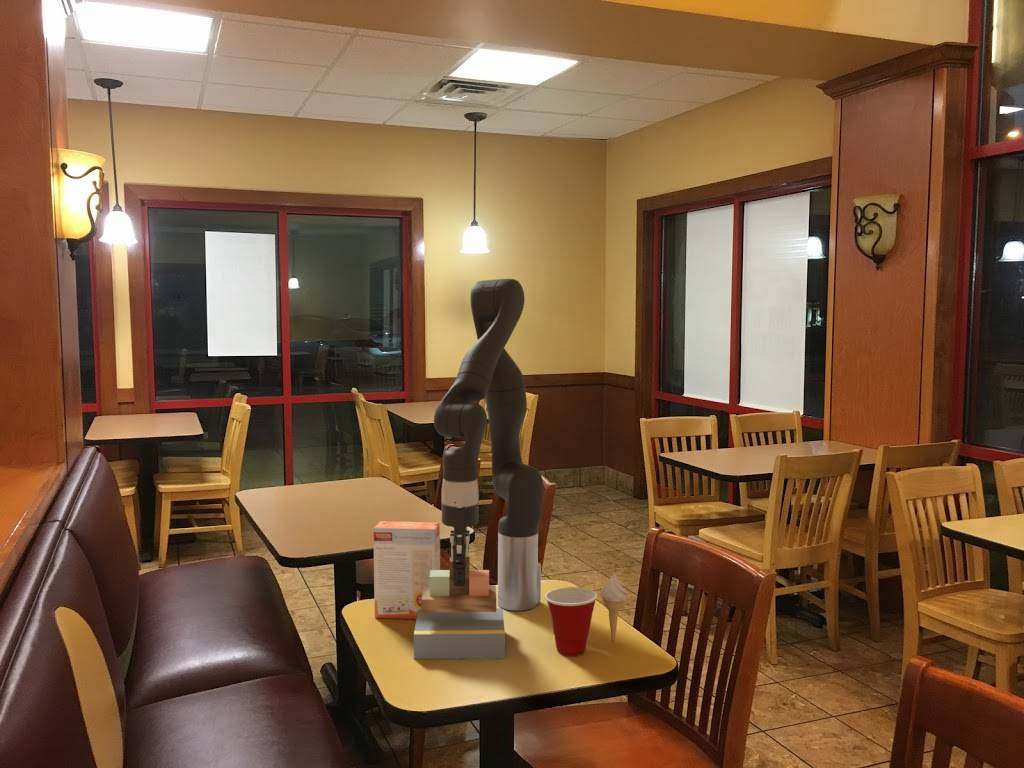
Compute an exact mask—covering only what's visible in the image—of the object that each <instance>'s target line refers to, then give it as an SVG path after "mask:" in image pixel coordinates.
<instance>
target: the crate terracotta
mask: <svg viewBox="0 0 1024 768" xmlns="http://www.w3.org/2000/svg"><path fill="white" fill-rule="evenodd" d="M489 585H490V570H489V569H470V572H469V596H489Z"/></svg>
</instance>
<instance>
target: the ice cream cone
mask: <svg viewBox="0 0 1024 768" xmlns="http://www.w3.org/2000/svg"><path fill="white" fill-rule="evenodd" d="M627 595H628V592H627V590H625V588H624V586H623V584H622V583H621V582H620V579H619V578H618V576H617V574H616V572H613V574H612V576H611V578H609V581H607V583H605V585H604V587H603V588H602V589H601V590H600V598H601V599H602V601H603V606H604V607H605V608H606V609H607V611H608V619H609V629H610V640H611V642H613V641H614V642H615V641H616V635H617V633H616V632H617V625H618V619H619V611H620V610H621V609H622V608H623V607H624V604H625V601H626V600H627Z"/></svg>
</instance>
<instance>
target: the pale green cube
mask: <svg viewBox="0 0 1024 768" xmlns="http://www.w3.org/2000/svg"><path fill="white" fill-rule="evenodd" d="M449 587H450V569H440V570H431V571H430V596H449Z"/></svg>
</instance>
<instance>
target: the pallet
mask: <svg viewBox="0 0 1024 768" xmlns="http://www.w3.org/2000/svg"><path fill="white" fill-rule="evenodd" d="M470 559H471V557H470V556H467V557H466V569H465V585H464V586H463V587H456V586H454V569H453V557H452V556H449V570H450V587H449V596H430V585H424V589H423V594H422V599H421V612H496V609H497V586H496V584H495V585H491V584H489V596H469V572H470V570H471V569H470V566H471V564H470V563H471V562H470ZM456 562H463V561H462V560H457V561H456Z"/></svg>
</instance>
